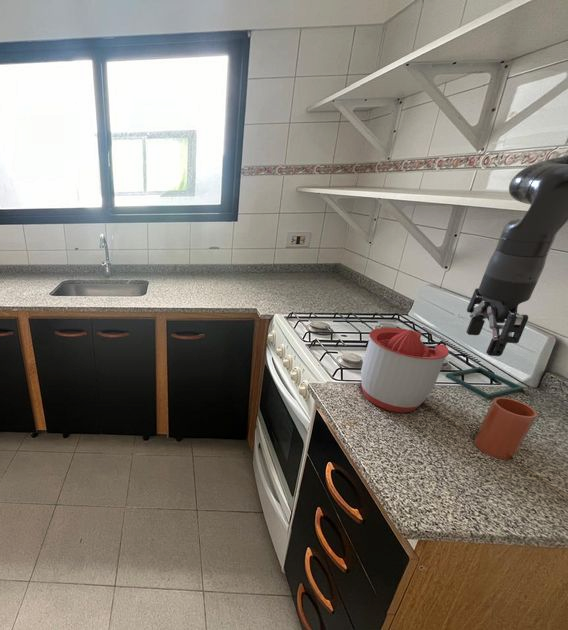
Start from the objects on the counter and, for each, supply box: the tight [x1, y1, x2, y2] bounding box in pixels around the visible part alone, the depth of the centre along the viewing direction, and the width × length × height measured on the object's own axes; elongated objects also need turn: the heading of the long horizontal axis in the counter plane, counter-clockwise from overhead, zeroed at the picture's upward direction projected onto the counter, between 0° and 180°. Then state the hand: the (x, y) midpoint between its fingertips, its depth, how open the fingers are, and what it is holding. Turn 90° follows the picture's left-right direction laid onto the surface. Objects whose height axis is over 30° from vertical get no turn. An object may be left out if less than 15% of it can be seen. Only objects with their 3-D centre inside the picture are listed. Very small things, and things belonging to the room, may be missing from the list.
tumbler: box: [473, 396, 538, 461], centre depth 71 cm, size 6×6×11 cm
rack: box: [445, 366, 525, 400], centre depth 92 cm, size 12×10×2 cm
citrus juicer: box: [360, 327, 450, 414], centre depth 85 cm, size 16×17×20 cm
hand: (482, 344), depth 75 cm, fingers open, 8 cm apart
